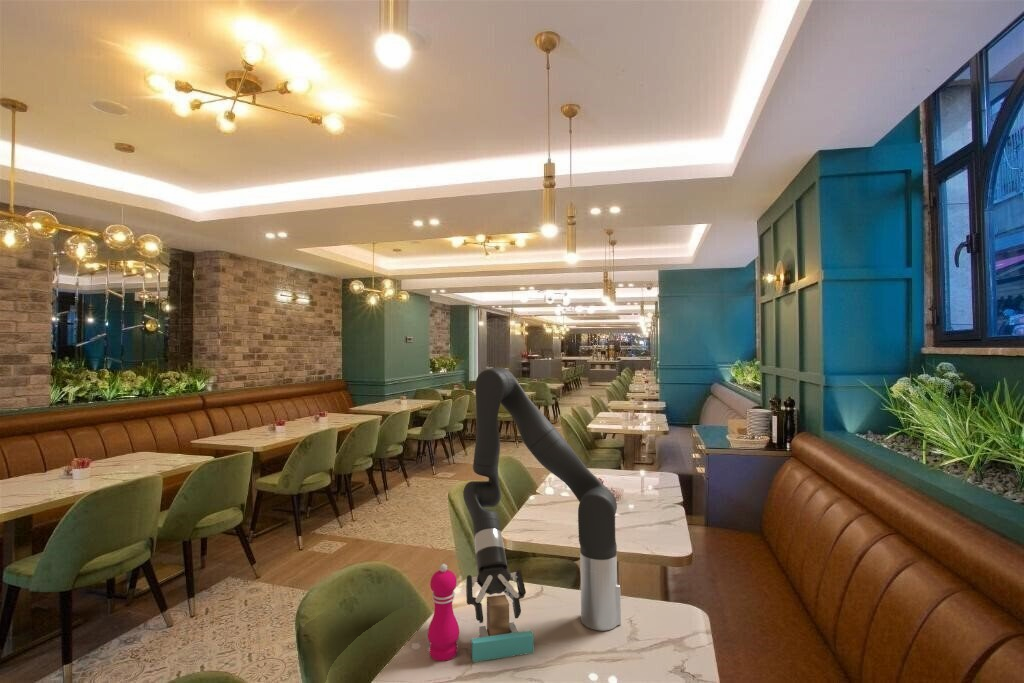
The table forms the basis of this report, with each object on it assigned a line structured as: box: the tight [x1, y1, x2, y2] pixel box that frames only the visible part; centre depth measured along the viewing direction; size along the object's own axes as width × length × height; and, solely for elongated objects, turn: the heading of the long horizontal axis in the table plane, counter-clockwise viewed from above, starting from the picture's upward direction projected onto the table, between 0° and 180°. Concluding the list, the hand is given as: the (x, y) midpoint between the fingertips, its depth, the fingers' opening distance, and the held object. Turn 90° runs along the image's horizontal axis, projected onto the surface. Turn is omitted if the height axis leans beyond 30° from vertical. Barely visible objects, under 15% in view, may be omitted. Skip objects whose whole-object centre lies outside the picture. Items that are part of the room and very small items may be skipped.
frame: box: [478, 621, 519, 638], centre depth 116 cm, size 8×6×3 cm
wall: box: [471, 630, 535, 663], centre depth 112 cm, size 14×2×4 cm, turn 103°
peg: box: [486, 594, 510, 636], centre depth 117 cm, size 4×4×10 cm
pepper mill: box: [427, 563, 460, 662], centre depth 113 cm, size 7×7×20 cm
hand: (499, 619), depth 115 cm, fingers open, 8 cm apart
